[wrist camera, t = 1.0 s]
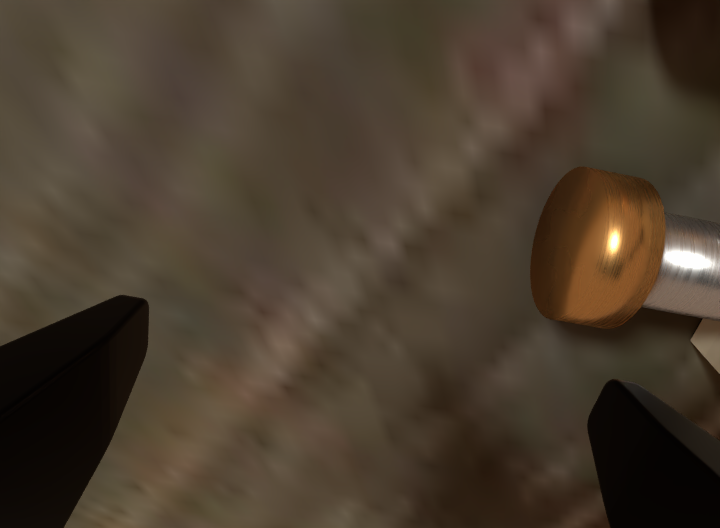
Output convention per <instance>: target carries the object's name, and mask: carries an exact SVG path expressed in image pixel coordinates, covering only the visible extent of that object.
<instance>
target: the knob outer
mask: <svg viewBox="0 0 720 528" xmlns="http://www.w3.org/2000/svg"><path fill="white" fill-rule="evenodd" d="M530 279H531V289H532V295H533V298H534V302H535V304H536V307H537V308H538V310H539V312H540V313H541V314H542V315H543V316H545V317H546V318H549V319H553V320H558V321H564V322H569V323H575V324H581V325H586V326H592V327H597V328H603V329H611V328H616V327H618V326H620V325H622V324H624V323H625V322H627V321H628V320H629V319H630V318H632V317H633V316H634V315H635V314H636V312H637V311H638V310H639V309H640V308H641V307H643V308H649V309H654V310H660V311H665V312H671V313H676V314H682V315H687V316H693V317H698V318H704V319H709V320H715V321H720V223H716V222H710V221H705V220H700V219H695V218H690V217H685V216H680V215H675V214H670V213H665V212H664V209H663V205H662V202H661V198H660V196H659V194H658V192H657V191H656V189H655V188H654V186H653V185H652V184H651V183H649V182H648V181H646V180H645V179H642V178H638V177H633V176H628V175H623V174H618V173H613V172H608V171H603V170H598V169H593V168H588V167H577V168H574V169H573V170H571V171H569V172H568V173H567V174H566V175H565V176H564V177H563V178H562V179H561V180H560V181H559V182H558V184H557V185H556V186H555V188H554V189H553V191H552V193H551V194H550V196H549V198H548V200H547V202H546V204H545V206H544V209H543V211H542V214H541V217H540V220H539V222H538V226H537V229H536V233H535V237H534V242H533V248H532V255H531V266H530Z"/></svg>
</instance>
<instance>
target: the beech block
mask: <svg viewBox="0 0 720 528" xmlns="http://www.w3.org/2000/svg"><path fill="white" fill-rule="evenodd" d="M690 341H691V342H692V343H693V345H694V346H695V347H696V348H697V349H698V350H699V351H700V352H701V354H702V355H703V356H704V357H705V358H706V359H707V360H708V361H709V363H710V364H711V365H712V366H713V367H714V368H715V369H716V370H717V372H718V373H719V374H720V321H715V320H709V319H704V318H703V319H702V321H701V323H700V324H699V326H698V328H697V330H696V331H695V333H694V335H693V337H692V338H691V340H690Z"/></svg>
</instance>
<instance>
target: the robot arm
mask: <svg viewBox="0 0 720 528" xmlns="http://www.w3.org/2000/svg"><path fill="white" fill-rule="evenodd" d="M148 326H149V305H148V302H147V301H146V300H145V299H143V298H137V297H132V296H126V295H119V296H116V297H113V298H111V299H109V300H106V301H104V302H102V303H99V304H97V305H95V306H93V307H90V308H88V309H86V310H83V311H81V312H79V313H76V314H74V315H72V316H69V317H67V318H65V319H62V320H60V321H58V322H55V323H53V324H51V325H48V326H46V327H44V328H42V329H39V330H37V331H35V332H32V333H30V334H28V335H25V336H23V337H21V338H18V339H16V340H14V341H11V342H9V343H7V344H4V345H2V346H0V528H64V526H65V525H66V523H67V521H68V519H69V517H70V515H71V514H72V512H73V510H74V508H75V506H76V505H77V503H78V501H79V499H80V497H81V496H82V494H83V492H84V490H85V488H86V487H87V485H88V483H89V481H90V479H91V477H92V476H93V474H94V472H95V470H96V468H97V467H98V465H99V463H100V461H101V459H102V458H103V456H104V454H105V452H106V450H107V448H108V446H109V444H110V442H111V440H112V437H113V435H114V433H115V430H116V428H117V425H118V423H119V420H120V418H121V416H122V413H123V411H124V408H125V406H126V403H127V401H128V398H129V396H130V393H131V391H132V388H133V386H134V383H135V381H136V378H137V376H138V374H139V371H140V369H141V366H142V364H143V361H144V359H145V356H146V352H147V347H148ZM587 428H588V434H589V439H590V443H591V448H592V453H593V457H594V462H595V466H596V471H597V475H598V480H599V484H600V489H601V493H602V498H603V502H604V506H605V510H606V514H607V518H608V521H609V524H610V528H720V441H719V440H718V439H716V438H715V437H713V436H712V435H710V434H709V433H708V432H706V431H705V430H703V429H702V428H700V427H699V426H698V425H696V424H695V423H693V422H692V421H690V420H689V419H687V418H686V417H685V416H683V415H682V414H680V413H679V412H677V411H676V410H675V409H673V408H672V407H670V406H669V405H667V404H666V403H665V402H663V401H662V400H660V399H659V398H657V397H656V396H655V395H653V394H652V393H650V392H649V391H647V390H646V389H645V388H643V387H642V386H640V385H639V384H637V383H634V382H630V381H624V380H618V379H612V380H609V381H608V382H607V383H606V384H605V386H604V387H603V389H602V391H601V393H600V395H599V397H598V399H597V401H596V403H595V405H594V407H593V409H592V411H591V413H590V415H589V418H588V424H587Z"/></svg>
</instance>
